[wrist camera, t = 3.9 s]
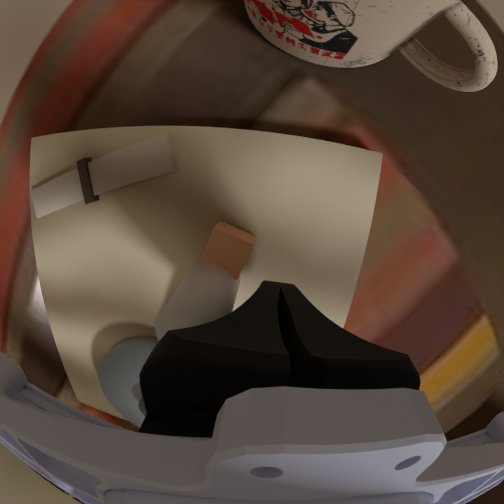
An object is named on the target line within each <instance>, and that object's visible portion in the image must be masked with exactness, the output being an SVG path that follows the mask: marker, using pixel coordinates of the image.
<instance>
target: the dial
mask: <svg viewBox="0 0 504 504" xmlns="http://www.w3.org/2000/svg"><path fill="white" fill-rule="evenodd" d="M255 238H256V236H254V235H252V234H250V233H247V232H245V231H243V230H241V229H238V228H236V227H234V226H232V225H230V224H227V223H225V222H223V221H221V220H220V221H219V222H218V223H217V224H216V225H215V226H214V228H213V230H212V233H211V235H210V238H209V240H208V242H207V245H206V247H205V250H204V252H203V255H202V257H201V259H199V260H198V261H197V263H196V264H195V265H194V267H193V268H192V269H191V271H190V272H189V274H188V275H187V276H186V278H185V279H184V281H183V282H182V283H181V285H180V286H179V288H178V289H177V290H176V292H175V293H174V295H173V296H172V297H171V299H170V300H169V302H168V303H167V305H166V306H165V307H164V309H163V310H162V312H161V313H160V315H159V316H158V318H157V320H156V324H155V332H156V336H157V338H155V337H131V338H127V339H124V340H121V341H119V342H117V343H116V344H115V345H114V346H112V348H111V349H110V350H109V351H108V353H107V354H106V355H105V357H104V358H103V359H102V361H101V362H100V365H99V368H98V379H99V383H100V386H101V389H102V391H103V393H104V395H105V396H106V398H107V399H108V401H109V402H110V403H111V405H112V406H113V407H114V408H115V409H116V410H117V411H118V412H119V413H120V414H121V415H122V416H123V417H125V418H126V419H127V420H128V421H130V422H131V423H133V424H134V425H136V426H137V427H139V428H140V427H141V425H142V423H143V421H144V418H145V416H146V410H145V406H144V402H143V397H142V393H141V388H140V380H139V374H140V372H141V370H142V367H143V365H144V363H145V362H146V360H147V358H148V357H149V355H150V353H151V352H152V350H153V348H154V347H155V346H156V344H157V343H158V342H159V340H160V339H161V338H162V337H163V336H164V335H165V334H166V332H167V331H168V330H175V329H182V328H188V327H193V326H198V325H201V324H205V323H208V322H211V321H214V320H216V319H218V318H221V317H223V316H225V315H227V314H229V313H231V312H232V311H233V307H234V304H235V300H236V296H237V292H238V289H239V285H240V280H241V277H240V273H241V271H242V269H243V266H244V264H245V262H246V260H247V258H248V256H249V254H250V252H251V250H252V247H253V245H254V242H255Z"/></svg>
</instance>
